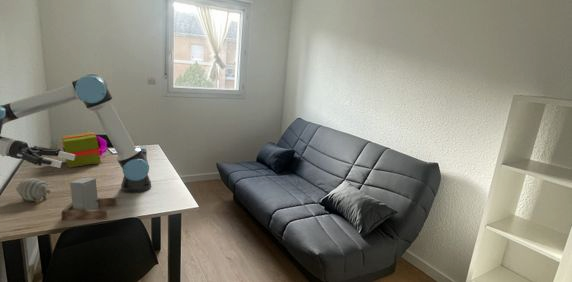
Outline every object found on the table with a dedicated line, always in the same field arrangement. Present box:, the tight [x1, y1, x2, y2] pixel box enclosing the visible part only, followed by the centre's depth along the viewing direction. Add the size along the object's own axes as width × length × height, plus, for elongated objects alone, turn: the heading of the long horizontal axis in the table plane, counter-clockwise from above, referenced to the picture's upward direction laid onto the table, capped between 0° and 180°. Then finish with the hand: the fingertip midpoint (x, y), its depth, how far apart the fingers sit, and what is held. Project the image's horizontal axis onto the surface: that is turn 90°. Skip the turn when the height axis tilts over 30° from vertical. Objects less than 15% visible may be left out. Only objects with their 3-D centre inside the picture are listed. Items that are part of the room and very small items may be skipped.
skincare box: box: [69, 177, 100, 210], centre depth 145 cm, size 8×7×16 cm
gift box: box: [61, 131, 109, 169], centre depth 213 cm, size 21×21×25 cm
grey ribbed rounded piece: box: [16, 178, 51, 204], centre depth 154 cm, size 11×17×11 cm, turn 86°
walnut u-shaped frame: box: [61, 197, 118, 221], centre depth 147 cm, size 18×14×4 cm
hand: (68, 161), depth 142 cm, fingers open, 13 cm apart
